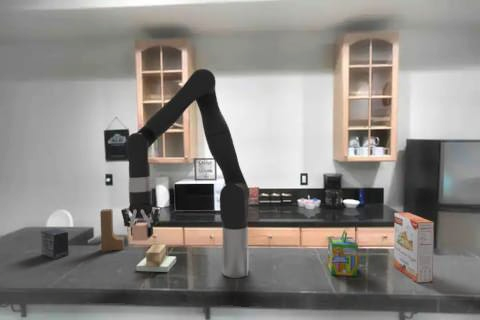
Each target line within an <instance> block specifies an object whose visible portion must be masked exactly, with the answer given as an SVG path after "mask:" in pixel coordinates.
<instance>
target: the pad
mask: <svg viewBox="0 0 480 320" xmlns="http://www.w3.org/2000/svg"><path fill="white" fill-rule="evenodd" d="M176 263H177V256H170V255H166V258H165V259H164V261H163V262H162V263H161V265H160V266H146V256H145V257H144V258H143V259H142V260H141V261H140V262H139V263H138V264H137V265H136V271H137V272H161V273H163V272H164V273H168V272H170V270H171V269H172V268H173V266H174V265H175V264H176Z"/></svg>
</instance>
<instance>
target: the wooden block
mask: <svg viewBox="0 0 480 320" xmlns="http://www.w3.org/2000/svg"><path fill="white" fill-rule="evenodd" d="M113 211H114V210H113V209H112V208H106V209H101V210H100V212H99V215H100V239H101V240H100V243H101V252H113V251H112V250H114V251H121V250H124V248H125V237H124V236H117V235H116V233H115V232H114V217H113V216H114V215H113V214H114V213H113Z"/></svg>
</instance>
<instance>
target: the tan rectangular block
mask: <svg viewBox="0 0 480 320" xmlns="http://www.w3.org/2000/svg"><path fill="white" fill-rule="evenodd" d="M145 255H146V256H145V257H146V266H160V265H161V263H162V262H163V261H164V259H165V258H166V256H167V244H166V243H165V244H164V243H163V244H152V245H151V246H150V248H148V250H147V251H146V252H145Z"/></svg>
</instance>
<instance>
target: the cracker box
mask: <svg viewBox="0 0 480 320" xmlns="http://www.w3.org/2000/svg"><path fill="white" fill-rule="evenodd" d="M393 223H394V228H393V229H394V233H393V234H394V236H393V238H394V241H393V243H394V244H393V247H394V249H393V267H394V268H396V269H397V270H399V271H400V272H401V271H402V272H401V273H403V274H404V275H405V276H407V277H408V276H409V279H411V278H412V279H413V280H412V279H411V280H412V281H413V282H415V281H416V282H428V283H431V282H430V281H433V279H434V276H433V275H434V239H435V237H434V234H435V233H434V231H435V230H434V229H435V223H434V221H431V220H429V219H425V218H424V217H421V216H418V215H416V214H413V213H411V212H394V222H393ZM416 282H415V283H416Z"/></svg>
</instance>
